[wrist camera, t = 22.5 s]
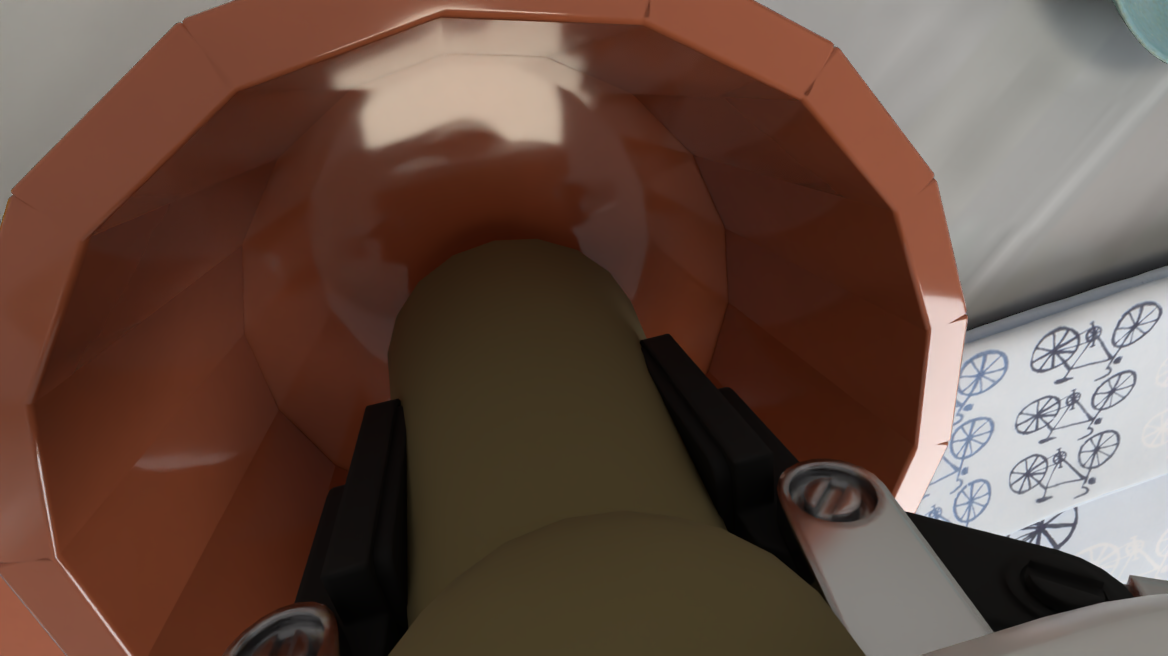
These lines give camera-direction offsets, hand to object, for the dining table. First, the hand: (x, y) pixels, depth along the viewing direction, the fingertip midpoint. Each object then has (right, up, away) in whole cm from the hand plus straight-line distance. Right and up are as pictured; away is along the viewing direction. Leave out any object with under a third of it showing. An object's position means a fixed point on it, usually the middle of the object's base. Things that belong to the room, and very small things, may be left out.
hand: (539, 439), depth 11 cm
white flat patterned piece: (+21, -5, +15) cm, 26 cm away
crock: (-2, +3, +6) cm, 7 cm away
